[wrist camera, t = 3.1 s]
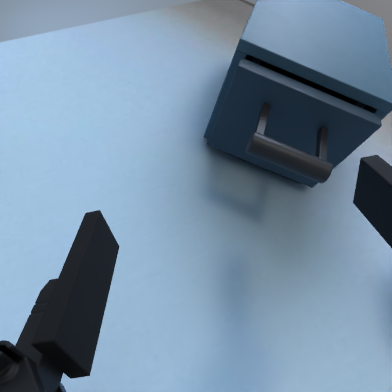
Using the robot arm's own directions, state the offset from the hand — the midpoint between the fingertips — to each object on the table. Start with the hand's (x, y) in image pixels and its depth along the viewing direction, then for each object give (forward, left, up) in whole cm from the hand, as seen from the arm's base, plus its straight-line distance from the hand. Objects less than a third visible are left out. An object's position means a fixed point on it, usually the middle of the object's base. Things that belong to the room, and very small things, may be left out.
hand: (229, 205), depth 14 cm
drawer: (-6, +15, -9) cm, 18 cm away
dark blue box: (-9, +19, -9) cm, 23 cm away
